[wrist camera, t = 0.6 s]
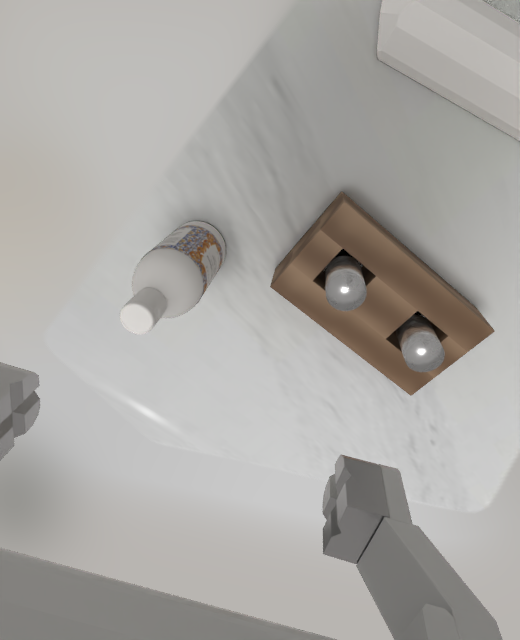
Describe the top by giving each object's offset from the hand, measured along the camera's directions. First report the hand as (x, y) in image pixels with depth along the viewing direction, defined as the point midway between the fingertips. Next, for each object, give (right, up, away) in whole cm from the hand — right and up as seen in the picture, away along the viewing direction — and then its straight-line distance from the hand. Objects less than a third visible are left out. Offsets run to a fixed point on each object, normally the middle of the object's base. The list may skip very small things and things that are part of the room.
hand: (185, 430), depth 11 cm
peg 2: (+20, +2, +37) cm, 42 cm away
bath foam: (-6, +12, +41) cm, 43 cm away
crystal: (+24, +27, +29) cm, 46 cm away
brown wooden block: (+16, +7, +40) cm, 44 cm away
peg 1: (+11, +8, +35) cm, 38 cm away
